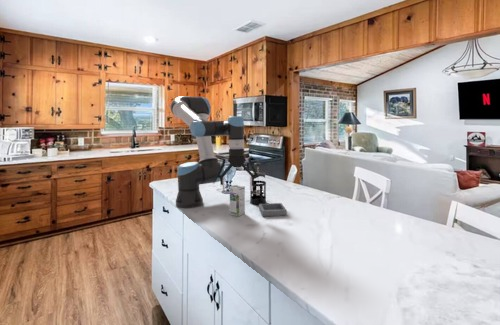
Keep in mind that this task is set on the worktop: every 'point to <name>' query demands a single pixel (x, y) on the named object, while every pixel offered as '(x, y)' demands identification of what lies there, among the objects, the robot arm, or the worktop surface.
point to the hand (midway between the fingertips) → (237, 190)
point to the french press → (258, 196)
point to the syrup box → (237, 200)
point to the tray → (272, 210)
